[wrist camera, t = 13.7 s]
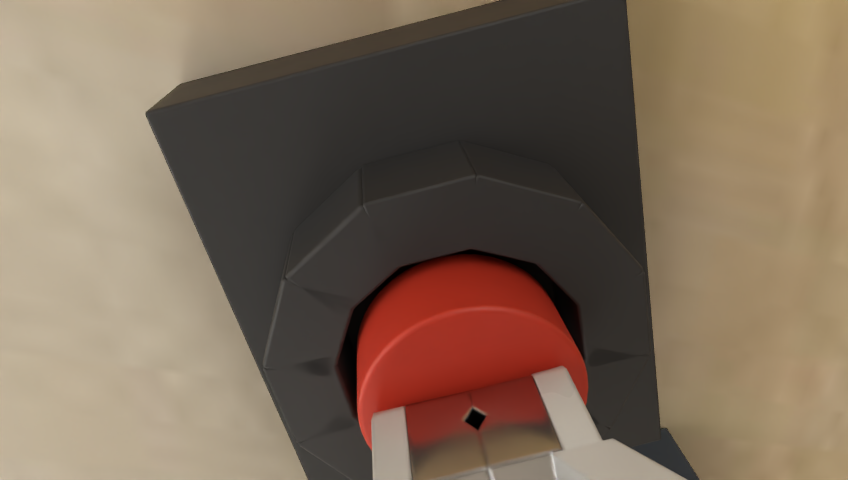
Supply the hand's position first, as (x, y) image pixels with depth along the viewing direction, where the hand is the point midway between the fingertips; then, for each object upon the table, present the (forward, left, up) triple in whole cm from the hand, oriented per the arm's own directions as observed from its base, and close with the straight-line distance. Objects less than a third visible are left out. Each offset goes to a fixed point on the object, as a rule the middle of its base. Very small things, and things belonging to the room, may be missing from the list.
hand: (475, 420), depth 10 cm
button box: (0, 0, -5) cm, 5 cm away
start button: (0, 0, -2) cm, 2 cm away
